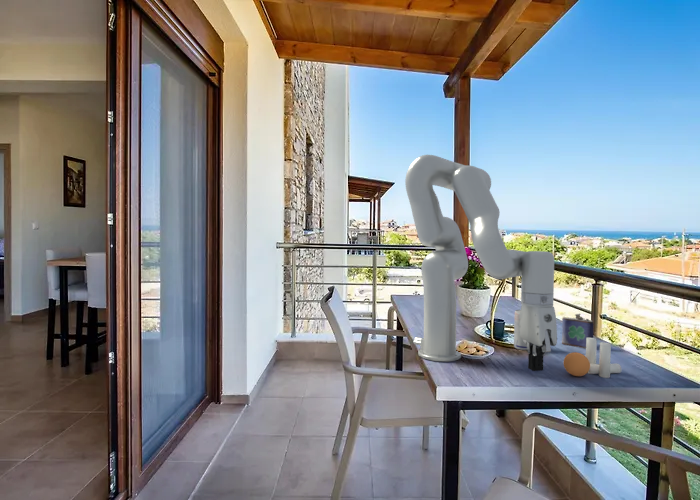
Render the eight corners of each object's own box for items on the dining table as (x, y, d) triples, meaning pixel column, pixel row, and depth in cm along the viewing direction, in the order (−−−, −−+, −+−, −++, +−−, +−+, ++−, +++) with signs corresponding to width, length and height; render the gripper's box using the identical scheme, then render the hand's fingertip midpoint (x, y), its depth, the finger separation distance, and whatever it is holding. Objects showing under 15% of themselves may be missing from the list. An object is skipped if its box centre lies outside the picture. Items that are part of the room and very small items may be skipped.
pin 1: (584, 369, 109) (585, 338, 108) (586, 367, 110) (587, 337, 110) (594, 372, 107) (595, 340, 107) (596, 369, 109) (597, 338, 108)
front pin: (588, 362, 106) (617, 361, 107) (583, 367, 108) (613, 366, 108) (592, 370, 104) (623, 369, 105) (588, 375, 106) (618, 374, 107)
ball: (592, 370, 105) (571, 381, 106) (577, 349, 108) (556, 360, 108) (597, 368, 100) (575, 379, 100) (581, 346, 102) (560, 357, 103)
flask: (560, 344, 135) (561, 312, 134) (563, 342, 137) (564, 311, 136) (591, 349, 128) (593, 316, 128) (594, 348, 130) (595, 315, 130)
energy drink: (533, 350, 126) (534, 313, 126) (515, 349, 128) (516, 312, 127) (529, 346, 132) (530, 309, 131) (512, 345, 133) (513, 309, 132)
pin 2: (597, 376, 104) (598, 343, 103) (600, 374, 105) (601, 341, 105) (608, 378, 102) (609, 345, 102) (610, 376, 104) (611, 343, 103)
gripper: (569, 304, 97) (567, 379, 97) (534, 294, 111) (532, 360, 112) (540, 304, 96) (538, 380, 96) (508, 295, 111) (507, 361, 111)
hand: (535, 369), depth 104 cm, fingers closed
